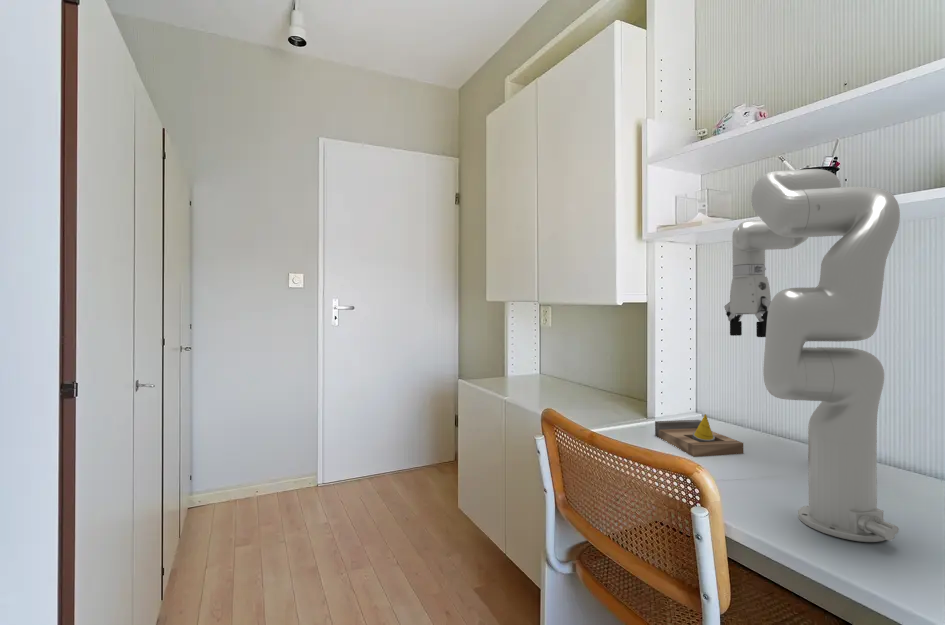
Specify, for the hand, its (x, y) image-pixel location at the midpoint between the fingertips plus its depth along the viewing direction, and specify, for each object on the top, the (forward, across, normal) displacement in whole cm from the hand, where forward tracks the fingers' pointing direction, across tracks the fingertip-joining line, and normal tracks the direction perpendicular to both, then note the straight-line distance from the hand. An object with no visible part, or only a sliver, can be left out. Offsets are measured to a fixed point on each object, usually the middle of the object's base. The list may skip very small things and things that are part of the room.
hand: (748, 336), depth 124 cm
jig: (+30, +5, +12) cm, 33 cm away
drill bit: (+31, +2, +12) cm, 33 cm away
